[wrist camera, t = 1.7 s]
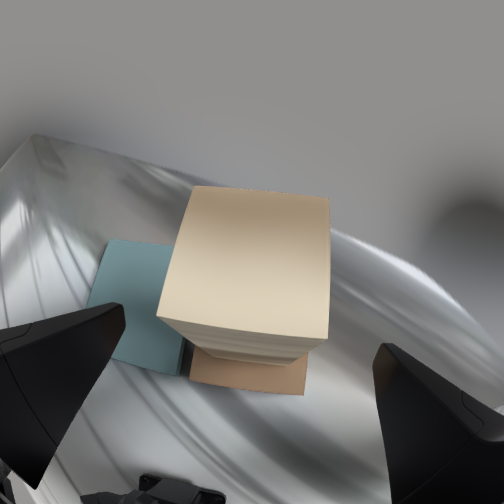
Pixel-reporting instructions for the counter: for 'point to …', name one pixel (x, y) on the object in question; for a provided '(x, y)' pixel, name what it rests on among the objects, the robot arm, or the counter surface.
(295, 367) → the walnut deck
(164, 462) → the counter surface
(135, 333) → the teal mat
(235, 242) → the maple block
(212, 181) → the counter surface
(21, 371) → the robot arm
